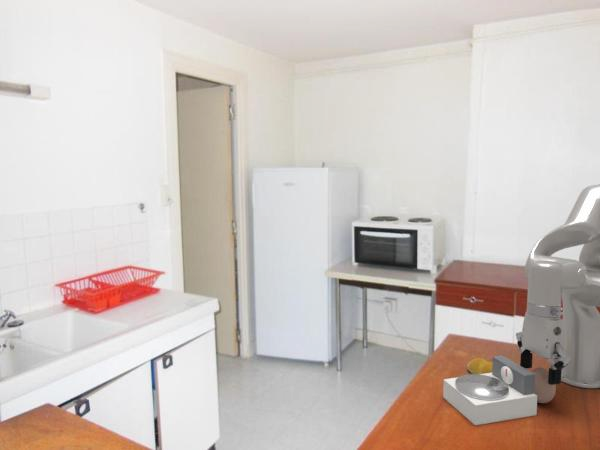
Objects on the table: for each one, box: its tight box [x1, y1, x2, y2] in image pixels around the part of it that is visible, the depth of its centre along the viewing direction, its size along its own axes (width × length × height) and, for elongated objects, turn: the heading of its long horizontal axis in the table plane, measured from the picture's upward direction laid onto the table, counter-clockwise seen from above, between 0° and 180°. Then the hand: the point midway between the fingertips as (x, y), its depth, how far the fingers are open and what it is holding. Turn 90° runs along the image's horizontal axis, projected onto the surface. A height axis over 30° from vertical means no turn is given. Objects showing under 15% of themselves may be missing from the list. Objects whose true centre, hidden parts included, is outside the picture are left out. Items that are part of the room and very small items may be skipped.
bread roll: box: [466, 357, 493, 374], centre depth 134 cm, size 8×9×4 cm
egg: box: [531, 367, 557, 404], centre depth 116 cm, size 7×7×9 cm
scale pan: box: [455, 373, 509, 401], centre depth 115 cm, size 13×13×1 cm
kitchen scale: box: [442, 355, 538, 426], centre depth 115 cm, size 17×14×10 cm
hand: (539, 375), depth 115 cm, fingers open, 9 cm apart
